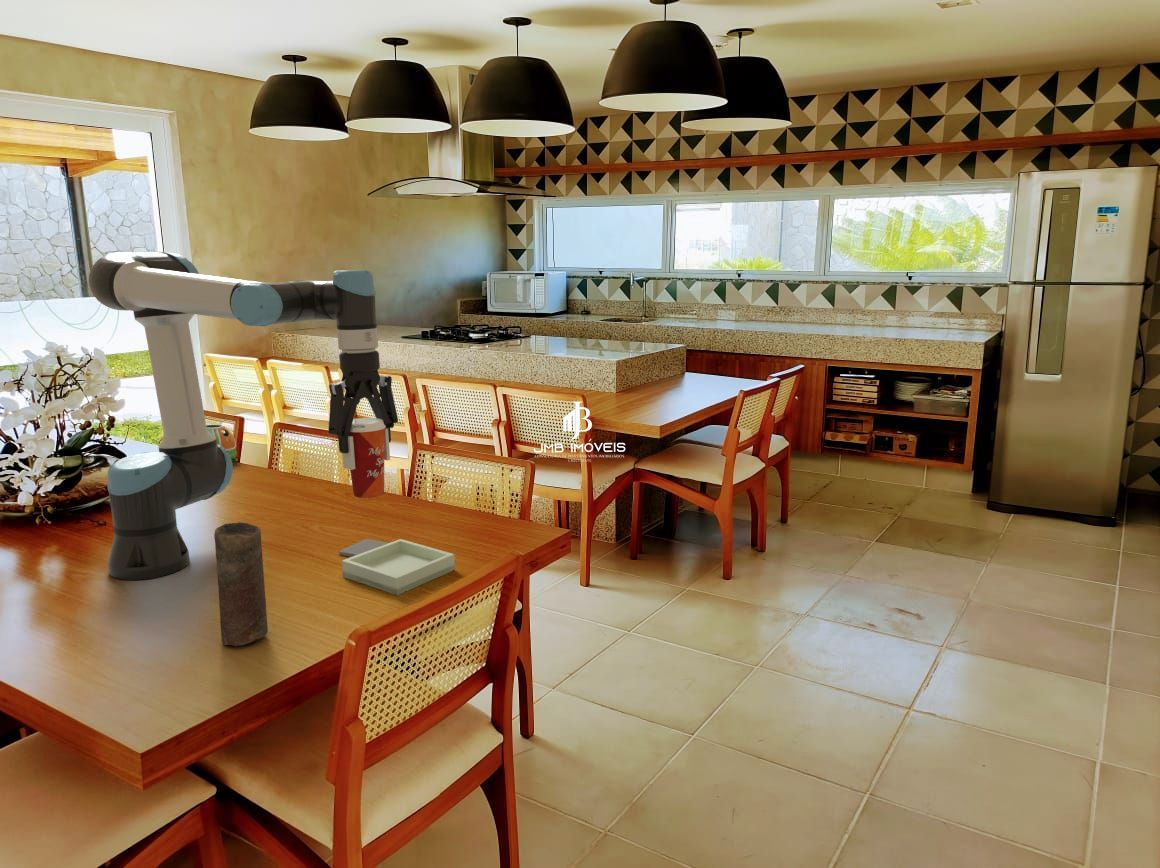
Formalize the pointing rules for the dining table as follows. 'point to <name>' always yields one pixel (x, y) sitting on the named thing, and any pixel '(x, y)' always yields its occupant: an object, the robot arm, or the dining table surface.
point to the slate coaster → (361, 547)
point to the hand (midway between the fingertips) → (367, 463)
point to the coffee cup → (368, 457)
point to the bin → (398, 566)
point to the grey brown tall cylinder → (240, 583)
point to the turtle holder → (224, 439)
